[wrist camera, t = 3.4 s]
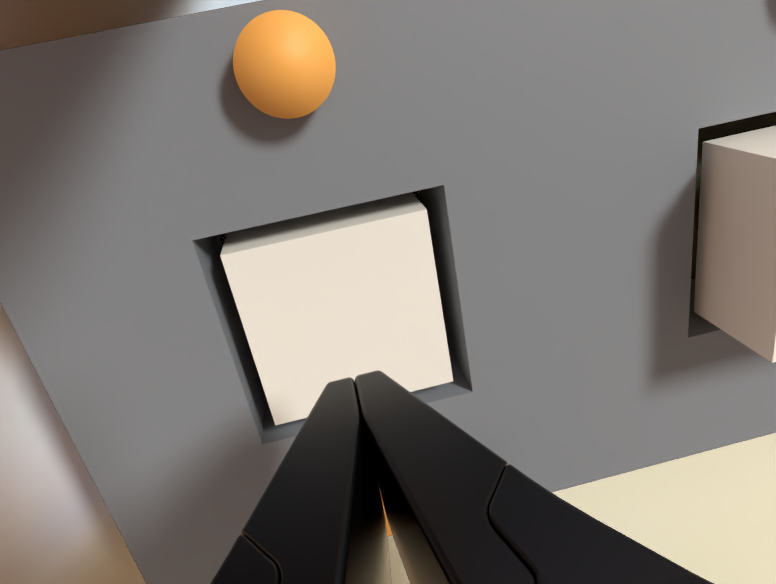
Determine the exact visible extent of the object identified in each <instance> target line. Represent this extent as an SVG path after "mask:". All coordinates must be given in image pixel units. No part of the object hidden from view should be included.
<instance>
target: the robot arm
mask: <svg viewBox="0 0 776 584" xmlns="http://www.w3.org/2000/svg"><path fill="white" fill-rule="evenodd" d="M381 497H382V498H381ZM382 501H383V502H382ZM383 505H384V508H383ZM384 509H385V513H386V517H387V520H388V523H389V526H390V529H391V532H392V535H393V537H394V540H395V543H396V546H397V548H398V551H399V554H400V557H401V559H402V562H403V565H404V568H405V570H406V573H407V576H408V579H409V581H410V584H714V583H712V582H709V581H707V580H706V579H704V578H702V577H700V576H698V575H696V574H694V573H692V572H690V571H688V570H686V569H685V568H683V567H681V566H679V565H677V564H676V563H674V562H672V561H670V560H668V559H667V558H665V557H663V556H661V555H659V554H658V553H656V552H654V551H652V550H650V549H649V548H647V547H645V546H643V545H641V544H640V543H638V542H636V541H634V540H632V539H631V538H629V537H627V536H625V535H623V534H622V533H620V532H618V531H616V530H614V529H613V528H611V527H609V526H607V525H605V524H603V523H602V522H600V521H598V520H596V519H595V518H593V517H591V516H589V515H588V514H586V513H584V512H583V511H581V510H579V509H578V508H576V507H574V506H572V505H571V504H569V503H567V502H566V501H564V500H562V499H561V498H559V497H557V496H556V495H554V494H553V493H551V492H550V491H548V490H547V489H545V488H544V487H543V486H541V485H540V484H538V483H537V482H535V481H534V480H532V479H531V478H529V477H528V476H526V475H525V474H524V473H522V472H521V471H519V470H518V469H517V468H515V467H514V466H513V465H511V464H509V465H508V463H507V461H505V460H504V459H502V458H501V457H500V456H498V455H497V454H496V453H494V452H493V451H491V450H490V449H489V448H487V447H486V446H484V445H483V444H482V443H480V442H479V441H477V440H476V439H475V438H473V437H472V436H471V435H469V434H468V433H466V432H465V431H464V430H462V429H461V428H459V427H458V426H457V425H455V424H454V423H453V422H451V421H450V420H448V419H447V418H446V417H444V416H443V415H441V414H440V413H439V412H437V411H436V410H435V409H433V408H432V407H430V406H429V405H428V404H426V403H425V402H423V401H422V400H421V399H419V398H418V397H416V396H415V395H414V394H412V393H411V392H410V391H408V390H407V389H405V388H404V387H403V386H401V385H400V384H398V383H397V382H396V381H394V380H393V379H392V378H390V377H389V376H387V375H386V374H385V373H383V372H382V371H379V370H376V371H372V372H368V373H364V374H360V375H358V376H356V377H355V381H354V379H353V378H350V377H348V378H344V379H340V380H336V381H332V382H329V383H328V384H327V385H326V386H325V388H324V389H323V391H322V393H321V395H320V396H319V398H318V400H317V402H316V403H315V405H314V407H313V408H312V410H311V412H310V414H309V415H308V417H307V419H306V420H305V422H304V424H303V426H302V427H301V429H300V431H299V432H298V434H297V436H296V438H295V439H294V441H293V443H292V445H291V446H290V448H289V450H288V451H287V453H286V455H285V457H284V458H283V460H282V462H281V463H280V465H279V467H278V469H277V470H276V472H275V474H274V476H273V477H272V479H271V481H270V482H269V484H268V486H267V488H266V489H265V491H264V493H263V494H262V496H261V498H260V500H259V501H258V503H257V505H256V507H255V508H254V510H253V512H252V513H251V515H250V517H249V519H248V520H247V522H246V524H245V525H244V527H243V529H242V531H241V535H239V536H238V537H237V539H236V540H235V542H234V544H233V546H232V547H231V549H230V551H229V553H228V554H227V556H226V558H225V559H224V561H223V563H222V564H221V566H220V567H219V569H218V571H217V572H216V574H215V575H214V577H213V579H212V580H211V582H210V583H209V584H392V582H391V571H390V559H389V548H388V536H387V527H386V519H385V513H384Z"/></svg>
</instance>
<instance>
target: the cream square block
mask: <svg viewBox="0 0 776 584" xmlns="http://www.w3.org/2000/svg"><path fill="white" fill-rule="evenodd" d="M220 257H221V260H222V263H223V266H224V269H225V272H226V275H227V278H228V281H229V284H230V287H231V290H232V294H233V297H234V300H235V303H236V306H237V309H238V312H239V315H240V318H241V321H242V324H243V327H244V330H245V334H246V337H247V340H248V343H249V346H250V349H251V352H252V355H253V358H254V361H255V364H256V367H257V370H258V374H259V377H260V380H261V383H262V386H263V389H264V392H265V395H266V398H267V401H268V404H269V407H270V410H271V413H272V417H273V420H274V423H275V425H279V424H283V423H287V422H291V421H295V420H299V419H303V418H307V417H308V415H309V414H310V412H311V410H312V408H313V407H314V405H315V403H316V402H317V400H318V398H319V396H320V395H321V393H322V391H323V389H324V388H325V386H326V385H327V384H328V383H329V382H332V381H336V380H340V379H344V378H348V377H350V378H353V379H354V381H355V377H356V376H358V375H360V374H364V373H368V372H372V371H376V370H379V371H382V372H383V373H385V374H386V375H387V376H389V377H390V378H392V379H393V380H394V381H396V382H397V383H398V384H400V385H401V386H403V387H404V388H405V389H407V390H408V391H410V392H412V391H416V390H420V389H424V388H428V387H432V386H436V385H440V384H444V383H448V382H453V376H452V369H451V363H450V356H449V350H448V343H447V337H446V331H445V324H444V318H443V311H442V305H441V298H440V292H439V285H438V279H437V272H436V266H435V260H434V253H433V247H432V240H431V234H430V227H429V221H428V214H427V209H426V208H425V207H424V206H423V205H422V203H421V202H420V201H419V200H418V199H417V198H416V196H415V195H414V194H413V193H412V192H410V193H405V194H400V195H396V196H391V197H387V198H382V199H378V200H373V201H369V202H364V203H360V204H355V205H351V206H346V207H342V208H337V209H333V210H328V211H324V212H319V213H314V214H310V215H305V216H301V217H296V218H292V219H287V220H283V221H278V222H274V223H269V224H265V225H260V226H256V227H251V228H247V229H242V230H237V231H233V232H228V233H227V235H226V239H225V242H224V245H223V248H222V251H221V255H220Z"/></svg>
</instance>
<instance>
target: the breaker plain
mask: <svg viewBox="0 0 776 584" xmlns="http://www.w3.org/2000/svg"><path fill="white" fill-rule="evenodd" d="M694 312H695V313H697V314H698V315H700V316H701V317H703V318H704V319H706V320H707V321H709V322H710V323H712V324H714V325H715V326H717V327H718V328H720V329H721V330H723V331H724V332H726V333H727V334H729V335H730V336H732V337H733V338H735V339H736V340H738V341H740V342H741V343H743V344H744V345H746V346H747V347H749V348H750V349H752V350H753V351H755V352H756V353H758V354H759V355H761V356H762V357H764V358H766V359H767V360H769V361H770V362H772V363H774V362H776V126H771V127H767V128H762V129H758V130H753V131H749V132H744V133H740V134H735V135H731V136H726V137H722V138H717V139H713V140H708V141H704V142H703V149H702V168H701V186H700V205H699V223H698V241H697V260H696V278H695V296H694Z"/></svg>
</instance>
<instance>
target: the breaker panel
mask: <svg viewBox="0 0 776 584" xmlns="http://www.w3.org/2000/svg"><path fill="white" fill-rule="evenodd" d="M772 112H776V0H262V1H257V2H251V3H246V4H241V5H236V6H230V7H225V8H220V9H215V10H210V11H204V12H199V13H194V14H189V15H183V16H178V17H173V18H168V19H162V20H157V21H152V22H147V23H141V24H136V25H131V26H126V27H120V28H115V29H110V30H105V31H99V32H94V33H89V34H84V35H78V36H73V37H68V38H63V39H57V40H52V41H47V42H42V43H36V44H31V45H26V46H21V47H15V48H10V49H5V50H0V303H1V305H2V307H3V308H4V310H5V312H6V314H7V316H8V318H9V320H10V322H11V324H12V326H13V328H14V330H15V332H16V333H17V335H18V337H19V339H20V341H21V343H22V345H23V347H24V349H25V351H26V353H27V355H28V357H29V359H30V360H31V362H32V364H33V366H34V368H35V370H36V372H37V374H38V376H39V378H40V380H41V382H42V384H43V385H44V387H45V389H46V391H47V393H48V395H49V397H50V399H51V401H52V403H53V405H54V407H55V409H56V410H57V412H58V414H59V416H60V418H61V420H62V422H63V424H64V426H65V428H66V430H67V432H68V434H69V435H70V437H71V439H72V441H73V443H74V445H75V447H76V449H77V451H78V453H79V455H80V457H81V459H82V460H83V462H84V464H85V466H86V468H87V470H88V472H89V474H90V476H91V478H92V480H93V482H94V484H95V485H96V487H97V489H98V491H99V493H100V495H101V497H102V499H103V501H104V503H105V505H106V507H107V509H108V510H109V512H110V514H111V516H112V518H113V520H114V522H115V524H116V526H117V528H118V530H119V532H120V534H121V536H122V537H123V539H124V541H125V543H126V545H127V547H128V549H129V551H130V553H131V555H132V557H133V559H134V561H135V562H136V564H137V566H138V568H139V570H140V572H141V574H142V576H143V578H144V580H145V582H146V584H209V583H210V582H211V580H212V579H213V577H214V575H215V574H216V572H217V571H218V569H219V567H220V566H221V564H222V563H223V561H224V559H225V558H226V556H227V554H228V553H229V551H230V549H231V547H232V546H233V544H234V542H235V540H236V539H237V537H238V536H239V535H241V531H242V529H243V527H244V525H245V524H246V522H247V520H248V519H249V517H250V515H251V513H252V512H253V510H254V508H255V507H256V505H257V503H258V501H259V500H260V498H261V496H262V494H263V493H264V491H265V489H266V488H267V486H268V484H269V482H270V481H271V479H272V477H273V476H274V474H275V472H276V470H277V469H278V467H279V465H280V463H281V462H282V460H283V458H284V457H285V455H286V453H287V451H288V450H289V448H290V446H291V445H292V443H293V441H294V439H295V438H296V436H297V434H298V432H299V431H300V429H301V427H302V426H303V424H304V422H305V420H306V419H307V418H303V419H299V420H295V421H291V422H287V423H283V424H279V425H275V423H274V420H273V417H272V413H271V410H270V407H269V404H268V401H267V398H266V395H265V392H264V389H263V386H262V383H261V380H260V377H259V374H258V370H257V367H256V364H255V361H254V358H253V355H252V352H251V349H250V346H249V343H248V340H247V337H246V334H245V330H244V327H243V324H242V321H241V318H240V315H239V312H238V309H237V306H236V303H235V300H234V297H233V294H232V290H231V287H230V284H229V281H228V278H227V275H226V272H225V269H224V266H223V263H222V260H221V257H220V255H221V251H222V246H221V243H220V239H219V236H218V235H219V234H224V233H228V232H233V231H237V230H242V229H247V228H251V227H256V226H260V225H265V224H269V223H274V222H278V221H283V220H287V219H292V218H296V217H301V216H305V215H310V214H314V213H319V212H324V211H328V210H333V209H337V208H342V207H346V206H351V205H355V204H360V203H364V202H369V201H373V200H378V199H382V198H387V197H391V196H396V195H400V194H405V193H410V192H414V191H419V190H421V192H422V198H423V204H424V207H425V208H426V209H427V214H428V221H429V227H430V234H431V240H432V247H433V253H434V260H435V266H436V272H437V279H438V285H439V292H440V298H441V305H442V311H443V318H444V324H445V331H446V337H447V343H448V350H449V356H450V363H451V369H452V376H453V382H448V383H444V384H440V385H436V386H432V387H428V388H424V389H420V390H416V391H412V392H411V393H412V394H414V395H415V396H416V397H418V398H419V399H421V400H422V401H423V402H425V403H426V404H428V405H429V406H430V407H432V408H433V409H435V410H436V411H437V412H439V413H440V414H441V415H443V416H444V417H446V418H447V419H448V420H450V421H451V422H453V423H454V424H455V425H457V426H458V427H459V428H461V429H462V430H464V431H465V432H466V433H468V434H469V435H471V436H472V437H473V438H475V439H476V440H477V441H479V442H480V443H482V444H483V445H484V446H486V447H487V448H489V449H490V450H491V451H493V452H494V453H496V454H497V455H498V456H500V457H501V458H502V459H504V460H505V461H507V463H508V465H509V464H511V465H513V466H514V467H515V468H517V469H518V470H519V471H521V472H522V473H524V474H525V475H526V476H528V477H529V478H531V479H532V480H534V481H535V482H537V483H538V484H540V485H541V486H543V487H544V488H545V489H547V490H548V491H550V492H555V491H558V490H562V489H566V488H570V487H573V486H577V485H581V484H585V483H588V482H592V481H596V480H600V479H603V478H607V477H611V476H615V475H618V474H622V473H626V472H629V471H633V470H637V469H641V468H644V467H648V466H652V465H656V464H659V463H663V462H667V461H671V460H674V459H678V458H682V457H686V456H689V455H693V454H697V453H701V452H704V451H708V450H712V449H716V448H719V447H723V446H727V445H731V444H734V443H738V442H742V441H746V440H749V439H753V438H757V437H761V436H764V435H768V434H772V433H776V362H774V363H772V362H770V361H769V360H767V359H766V358H764V357H762V356H761V355H759V354H758V353H756V352H755V351H753V350H752V349H750V348H749V347H747V346H746V345H744V344H743V343H741V342H740V341H738V340H736V339H735V338H733V337H732V336H730V335H729V334H727V333H726V332H724V331H723V330H721V329H720V328H718V327H717V326H715V325H714V324H712V323H710V322H709V321H707V320H706V319H704V318H703V317H701V316H700V315H698V314H697V313H695V312H694V296H695V279H694V280H691V268H692V249H693V229H694V209H695V190H696V170H697V150H698V131H699V128H704V127H708V126H713V125H717V124H722V123H727V122H731V121H736V120H740V119H745V118H749V117H754V116H758V115H763V114H767V113H772ZM381 498H382V497H381ZM382 502H383V501H382ZM383 508H384V505H383ZM384 513H385V509H384ZM385 519H386V527H387V536H392V532H391V529H390V526H389V523H388V520H387V517H386V513H385Z"/></svg>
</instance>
